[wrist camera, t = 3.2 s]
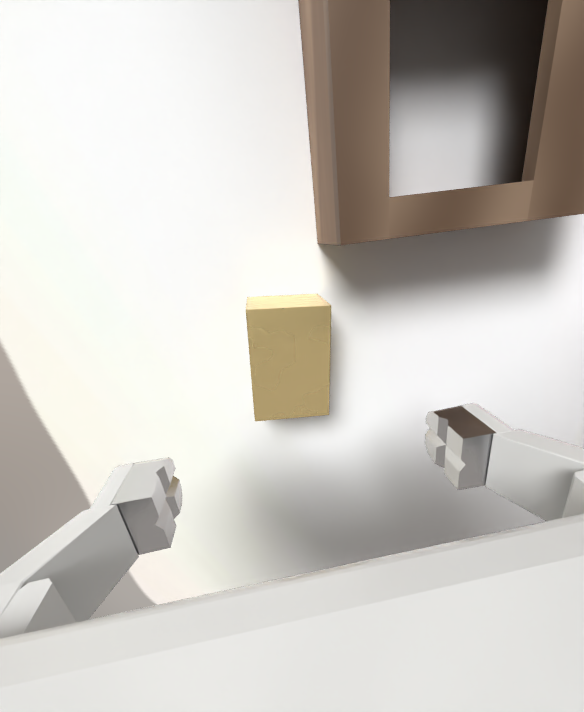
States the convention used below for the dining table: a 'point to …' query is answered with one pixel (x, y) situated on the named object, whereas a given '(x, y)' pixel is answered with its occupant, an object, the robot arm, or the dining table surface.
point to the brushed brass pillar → (289, 355)
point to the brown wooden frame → (371, 131)
